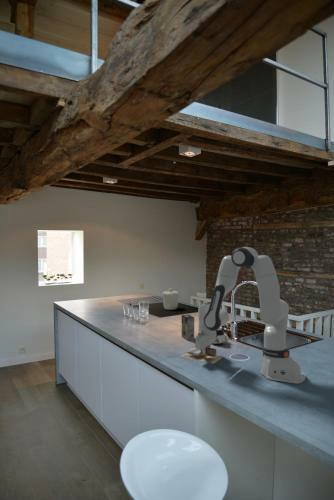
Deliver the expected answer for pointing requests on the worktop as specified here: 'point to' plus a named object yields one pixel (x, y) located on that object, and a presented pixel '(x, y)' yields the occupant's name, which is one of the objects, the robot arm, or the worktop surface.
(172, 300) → the canister
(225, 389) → the worktop surface
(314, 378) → the worktop surface
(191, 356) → the board
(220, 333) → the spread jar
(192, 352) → the paddle
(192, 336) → the coffee box
